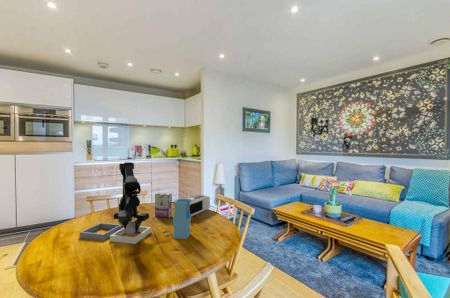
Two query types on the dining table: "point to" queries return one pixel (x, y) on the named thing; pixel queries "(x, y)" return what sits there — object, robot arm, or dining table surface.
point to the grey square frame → (97, 236)
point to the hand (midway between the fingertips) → (131, 231)
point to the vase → (182, 219)
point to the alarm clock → (199, 204)
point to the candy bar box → (163, 205)
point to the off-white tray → (133, 240)
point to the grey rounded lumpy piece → (130, 228)
